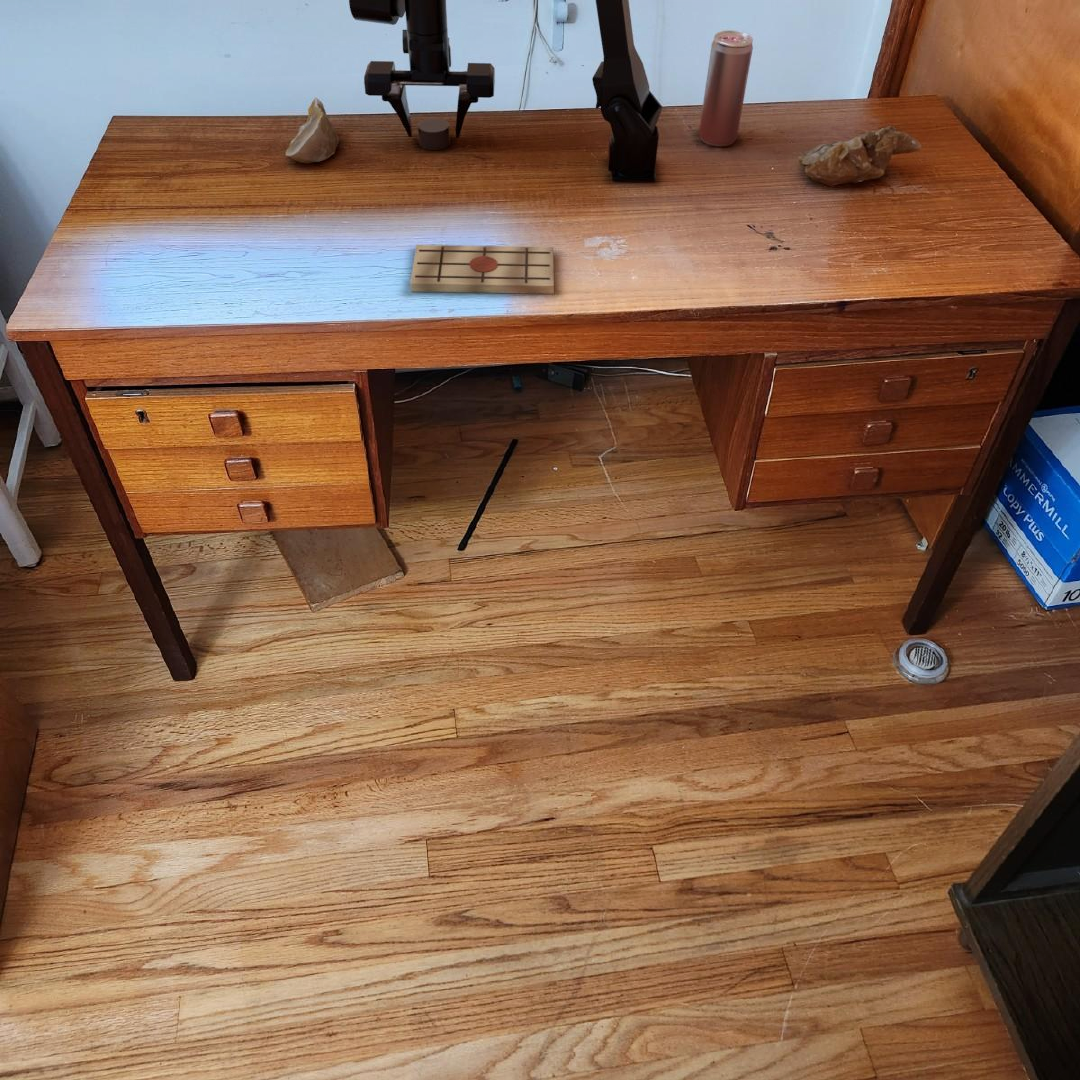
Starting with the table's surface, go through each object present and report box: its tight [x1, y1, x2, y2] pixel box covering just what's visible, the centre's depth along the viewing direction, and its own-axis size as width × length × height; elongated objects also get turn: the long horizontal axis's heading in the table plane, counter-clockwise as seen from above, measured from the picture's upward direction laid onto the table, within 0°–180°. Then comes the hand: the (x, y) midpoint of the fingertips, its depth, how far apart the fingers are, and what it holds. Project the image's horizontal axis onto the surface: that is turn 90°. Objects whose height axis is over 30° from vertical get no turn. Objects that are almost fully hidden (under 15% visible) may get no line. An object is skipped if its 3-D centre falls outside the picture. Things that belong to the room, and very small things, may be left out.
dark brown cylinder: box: [417, 117, 451, 151], centre depth 146 cm, size 5×5×3 cm
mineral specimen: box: [797, 125, 922, 187], centre depth 141 cm, size 13×7×15 cm
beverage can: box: [698, 30, 754, 148], centre depth 144 cm, size 6×6×15 cm
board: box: [409, 244, 555, 295], centre depth 123 cm, size 18×9×1 cm, turn 90°
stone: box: [285, 97, 339, 164], centre depth 144 cm, size 7×6×15 cm
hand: (434, 136), depth 147 cm, fingers open, 7 cm apart
